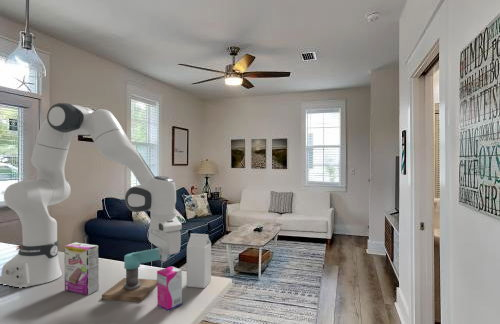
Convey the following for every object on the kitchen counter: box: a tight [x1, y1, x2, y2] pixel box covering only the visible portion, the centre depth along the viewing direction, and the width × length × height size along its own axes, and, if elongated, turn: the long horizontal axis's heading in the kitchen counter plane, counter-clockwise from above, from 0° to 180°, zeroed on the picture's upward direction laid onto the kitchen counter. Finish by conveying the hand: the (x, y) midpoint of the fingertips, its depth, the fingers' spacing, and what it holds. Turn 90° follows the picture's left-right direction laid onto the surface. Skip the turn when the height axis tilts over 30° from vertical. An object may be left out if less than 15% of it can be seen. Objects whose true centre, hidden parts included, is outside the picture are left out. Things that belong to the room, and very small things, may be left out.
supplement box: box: [156, 266, 183, 312], centre depth 96 cm, size 6×6×12 cm
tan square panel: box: [101, 267, 157, 303], centre depth 106 cm, size 14×14×9 cm
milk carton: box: [186, 233, 212, 289], centre depth 113 cm, size 7×7×19 cm
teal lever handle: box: [123, 247, 171, 270], centre depth 109 cm, size 17×5×5 cm, turn 128°
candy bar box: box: [63, 241, 99, 296], centre depth 106 cm, size 11×5×16 cm, turn 71°
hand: (163, 260), depth 107 cm, fingers closed
